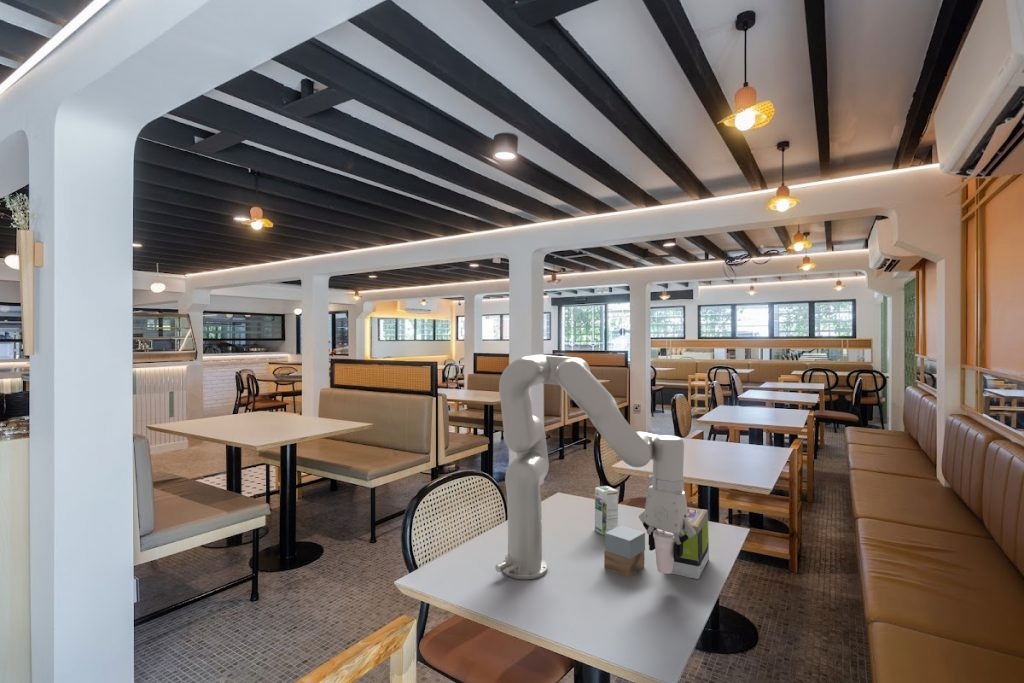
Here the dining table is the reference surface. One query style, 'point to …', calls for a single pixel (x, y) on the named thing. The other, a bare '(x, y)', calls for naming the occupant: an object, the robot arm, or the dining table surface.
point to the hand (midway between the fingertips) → (665, 552)
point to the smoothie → (664, 550)
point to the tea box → (694, 546)
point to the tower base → (623, 563)
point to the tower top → (625, 541)
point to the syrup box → (606, 509)
